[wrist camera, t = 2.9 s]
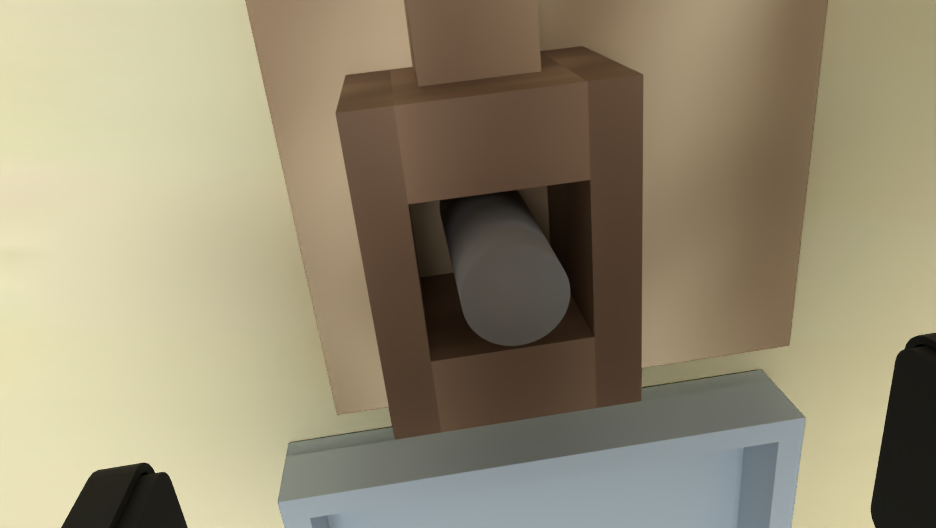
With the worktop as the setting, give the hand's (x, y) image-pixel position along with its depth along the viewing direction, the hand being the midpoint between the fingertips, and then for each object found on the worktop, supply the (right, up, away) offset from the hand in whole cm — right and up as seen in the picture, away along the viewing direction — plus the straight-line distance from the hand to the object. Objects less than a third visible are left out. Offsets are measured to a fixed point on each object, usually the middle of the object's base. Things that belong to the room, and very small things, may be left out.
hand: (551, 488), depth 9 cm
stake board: (+1, +6, +9) cm, 10 cm away
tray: (+1, -6, +14) cm, 15 cm away
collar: (-1, +6, +8) cm, 9 cm away
